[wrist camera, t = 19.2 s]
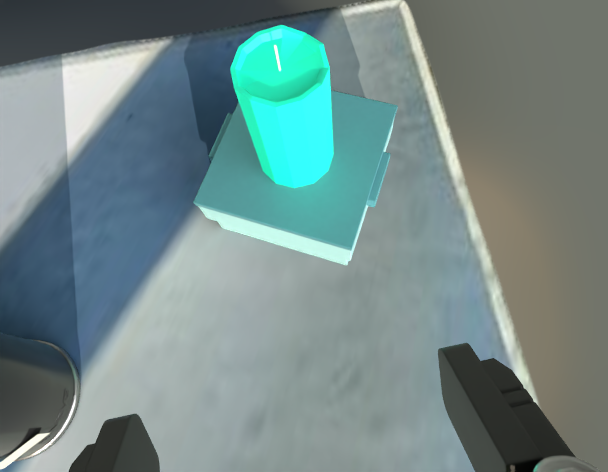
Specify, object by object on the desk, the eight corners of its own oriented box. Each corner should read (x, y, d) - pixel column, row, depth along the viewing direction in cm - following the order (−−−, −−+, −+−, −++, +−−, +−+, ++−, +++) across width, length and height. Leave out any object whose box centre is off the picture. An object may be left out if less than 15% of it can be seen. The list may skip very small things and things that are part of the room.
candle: (307, 200, 36) (290, 106, 25) (244, 166, 38) (202, 63, 26) (347, 141, 38) (348, 28, 26) (285, 111, 39) (261, -9, 28)
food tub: (208, 229, 43) (186, 200, 37) (258, 114, 47) (245, 70, 41) (357, 274, 40) (359, 251, 34) (396, 148, 44) (405, 106, 38)
